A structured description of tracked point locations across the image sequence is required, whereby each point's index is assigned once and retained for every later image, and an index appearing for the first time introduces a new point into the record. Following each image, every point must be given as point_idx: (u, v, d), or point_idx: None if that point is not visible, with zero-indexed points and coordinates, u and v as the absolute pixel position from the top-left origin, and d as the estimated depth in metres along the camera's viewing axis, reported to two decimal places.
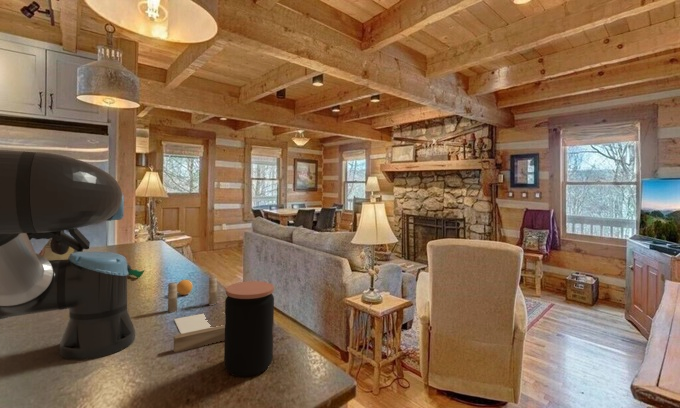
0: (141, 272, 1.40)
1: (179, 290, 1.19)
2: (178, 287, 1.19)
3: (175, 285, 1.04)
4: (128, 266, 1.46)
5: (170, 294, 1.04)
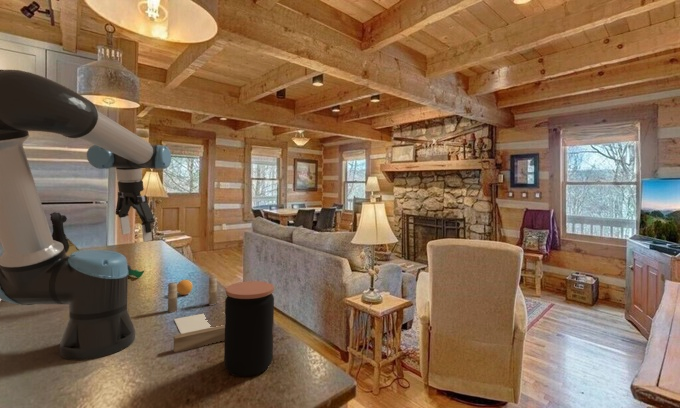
0: (141, 272, 1.40)
1: (179, 290, 1.19)
2: (178, 287, 1.19)
3: (175, 285, 1.04)
4: (128, 266, 1.46)
5: (170, 294, 1.04)
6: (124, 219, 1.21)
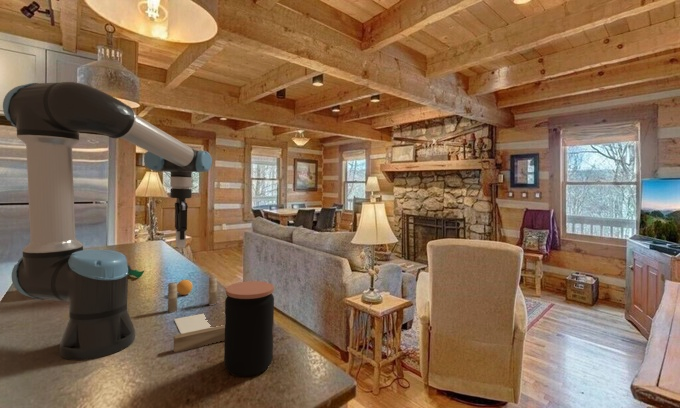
0: (141, 272, 1.40)
1: (179, 290, 1.19)
2: (178, 287, 1.19)
3: (175, 285, 1.04)
4: (128, 266, 1.46)
5: (170, 294, 1.04)
6: None
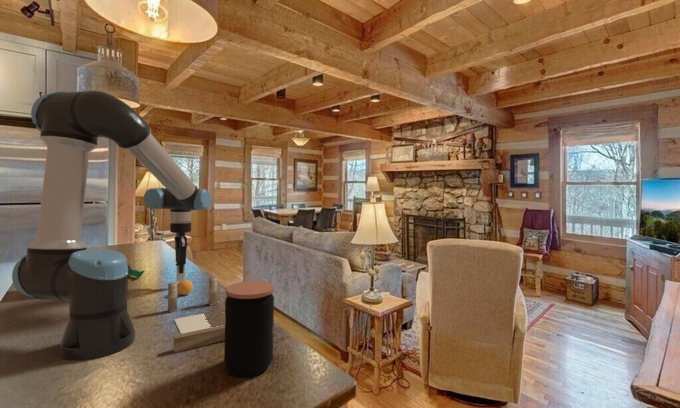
0: (141, 272, 1.40)
1: (179, 290, 1.19)
2: (178, 287, 1.19)
3: (175, 285, 1.04)
4: (128, 266, 1.46)
5: (170, 294, 1.04)
6: None
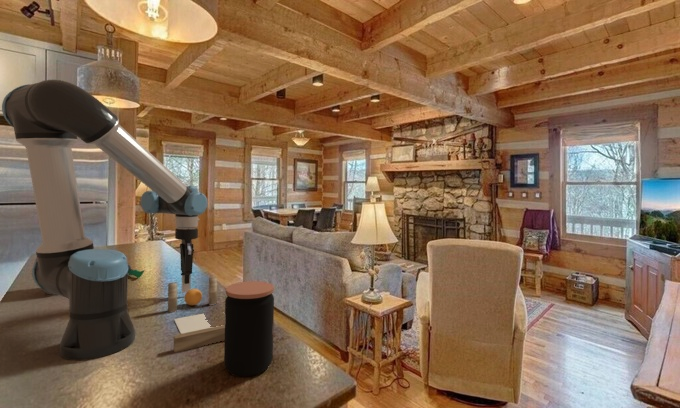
0: (141, 272, 1.40)
1: (186, 293, 1.10)
2: (185, 294, 1.10)
3: (175, 285, 1.04)
4: (128, 266, 1.46)
5: (170, 294, 1.04)
6: None
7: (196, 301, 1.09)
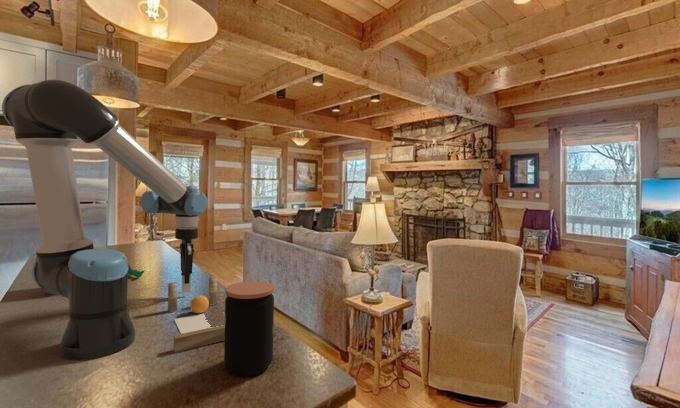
0: (141, 272, 1.40)
1: None
2: (192, 309, 1.02)
3: (175, 285, 1.04)
4: (128, 266, 1.46)
5: (170, 294, 1.04)
6: None
7: None
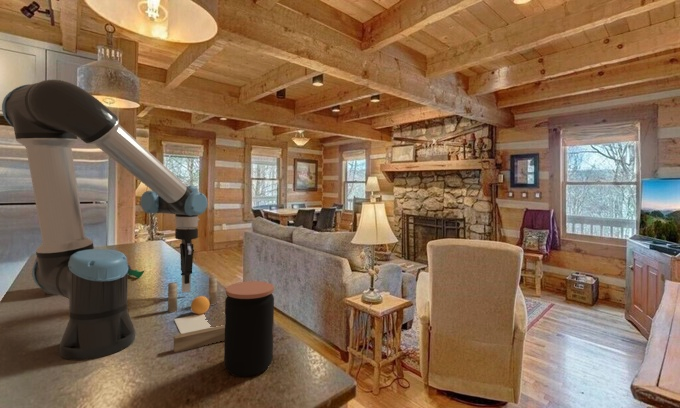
0: (141, 272, 1.40)
1: None
2: (193, 310, 1.02)
3: (175, 285, 1.04)
4: (128, 266, 1.46)
5: (170, 294, 1.04)
6: None
7: None
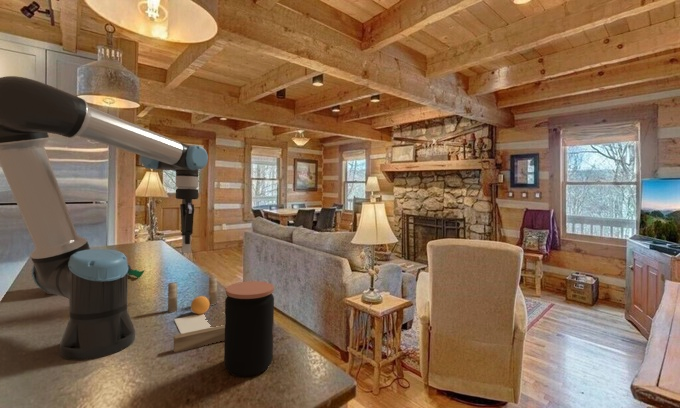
0: (141, 272, 1.40)
1: None
2: (193, 310, 1.02)
3: (175, 285, 1.04)
4: (128, 266, 1.46)
5: (170, 294, 1.04)
6: None
7: None
